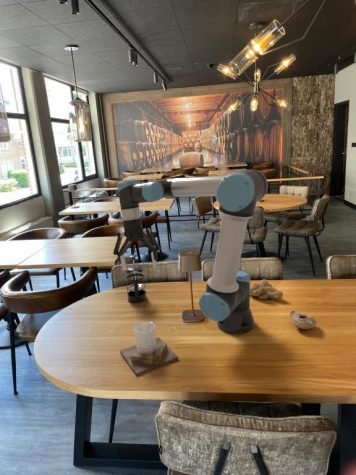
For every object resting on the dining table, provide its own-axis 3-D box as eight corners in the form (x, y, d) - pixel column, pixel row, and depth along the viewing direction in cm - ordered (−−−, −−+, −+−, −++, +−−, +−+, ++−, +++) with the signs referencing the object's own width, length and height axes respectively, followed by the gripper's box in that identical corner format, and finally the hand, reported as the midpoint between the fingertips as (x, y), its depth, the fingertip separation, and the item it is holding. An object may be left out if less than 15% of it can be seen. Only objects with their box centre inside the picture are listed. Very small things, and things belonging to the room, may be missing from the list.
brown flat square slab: (120, 352, 127) (119, 344, 126) (158, 339, 134) (158, 331, 133) (136, 375, 114) (135, 367, 113) (178, 359, 121) (177, 351, 120)
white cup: (155, 357, 121) (153, 332, 118) (133, 357, 122) (131, 332, 119) (158, 345, 128) (156, 321, 126) (138, 345, 129) (135, 321, 127)
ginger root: (242, 287, 174) (246, 273, 171) (272, 293, 174) (277, 278, 172) (247, 302, 159) (251, 286, 156) (280, 308, 159) (285, 293, 157)
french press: (147, 302, 166) (143, 257, 160) (128, 304, 164) (123, 259, 158) (145, 292, 177) (141, 250, 171) (127, 294, 176) (122, 252, 170)
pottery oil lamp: (299, 315, 145) (308, 303, 142) (312, 337, 135) (322, 326, 132) (282, 312, 143) (291, 300, 139) (294, 335, 133) (303, 322, 129)
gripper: (163, 214, 141) (170, 264, 143) (107, 221, 146) (115, 269, 149) (158, 216, 133) (166, 268, 136) (99, 223, 139) (108, 273, 142)
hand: (139, 269), depth 143 cm, fingers open, 13 cm apart
